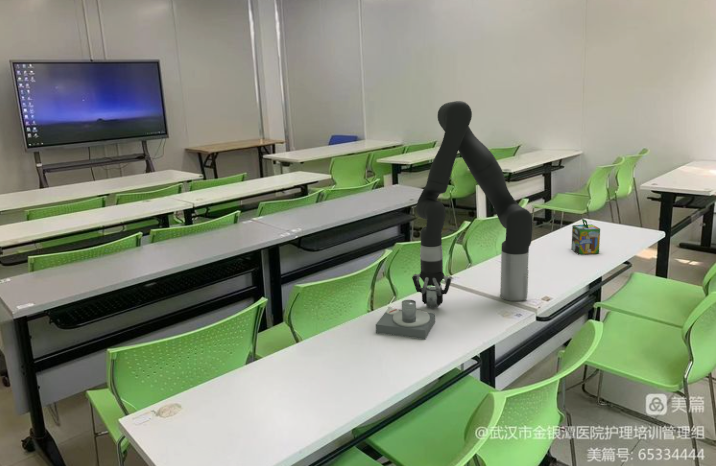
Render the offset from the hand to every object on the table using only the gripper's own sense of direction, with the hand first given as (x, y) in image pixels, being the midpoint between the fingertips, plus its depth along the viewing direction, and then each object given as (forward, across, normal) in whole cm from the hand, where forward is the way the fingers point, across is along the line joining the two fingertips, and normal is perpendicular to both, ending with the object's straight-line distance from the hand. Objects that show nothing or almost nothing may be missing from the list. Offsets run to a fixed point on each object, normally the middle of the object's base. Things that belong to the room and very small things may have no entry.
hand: (432, 303), depth 184 cm
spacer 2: (+1, 0, 0) cm, 1 cm away
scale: (+1, +4, +18) cm, 18 cm away
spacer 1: (-3, +3, +21) cm, 21 cm away
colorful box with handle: (+2, -51, -79) cm, 94 cm away
